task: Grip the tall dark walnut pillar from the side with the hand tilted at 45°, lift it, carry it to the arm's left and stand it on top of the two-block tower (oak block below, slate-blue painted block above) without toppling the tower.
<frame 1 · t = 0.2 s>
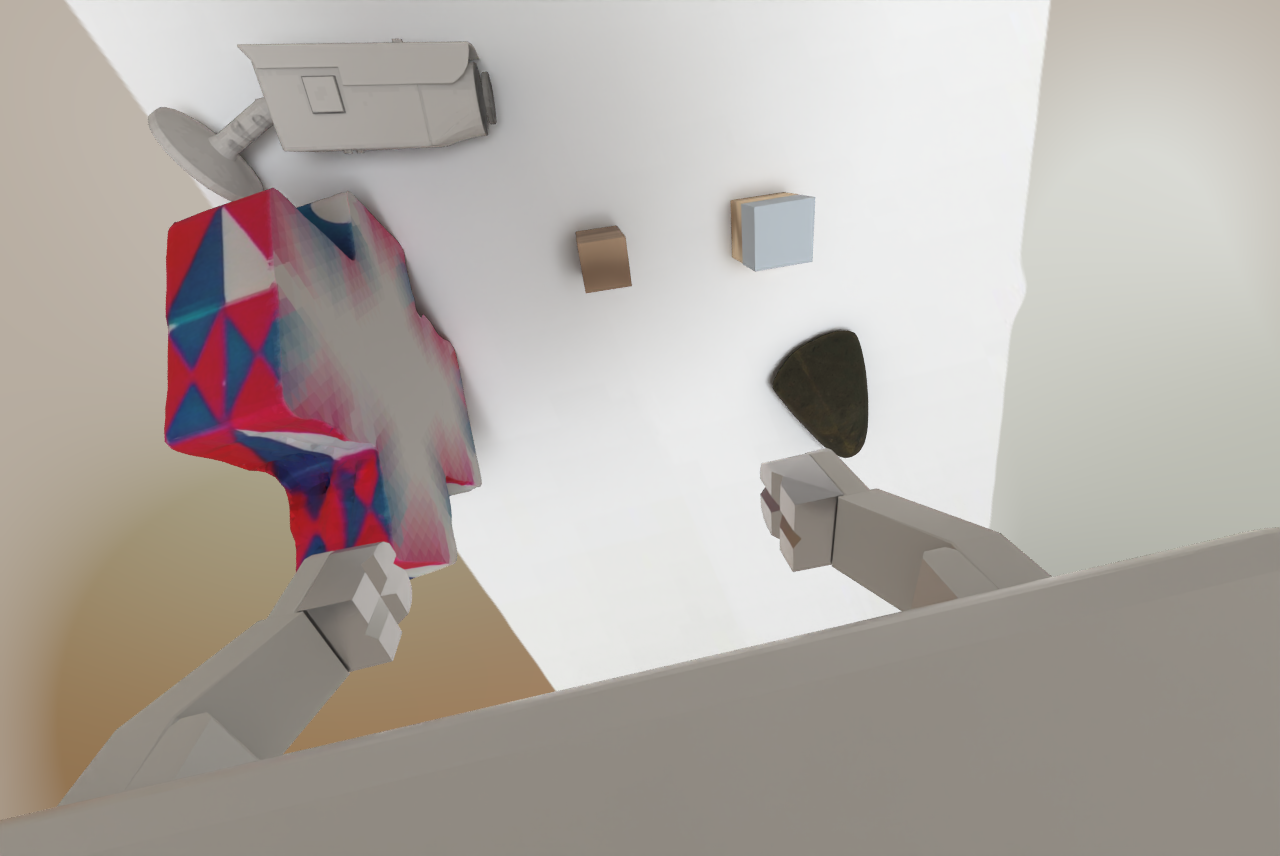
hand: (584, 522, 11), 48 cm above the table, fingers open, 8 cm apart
oak block: (756, 225, 54), on the table, touching slate block
stone tool: (820, 393, 66), on the table
sculpture: (408, 330, 55), on the table
slate block: (769, 230, 51), point 4 cm above the table, touching oak block
security camera: (362, 117, 45), on the table
walnut pillar: (599, 250, 53), on the table
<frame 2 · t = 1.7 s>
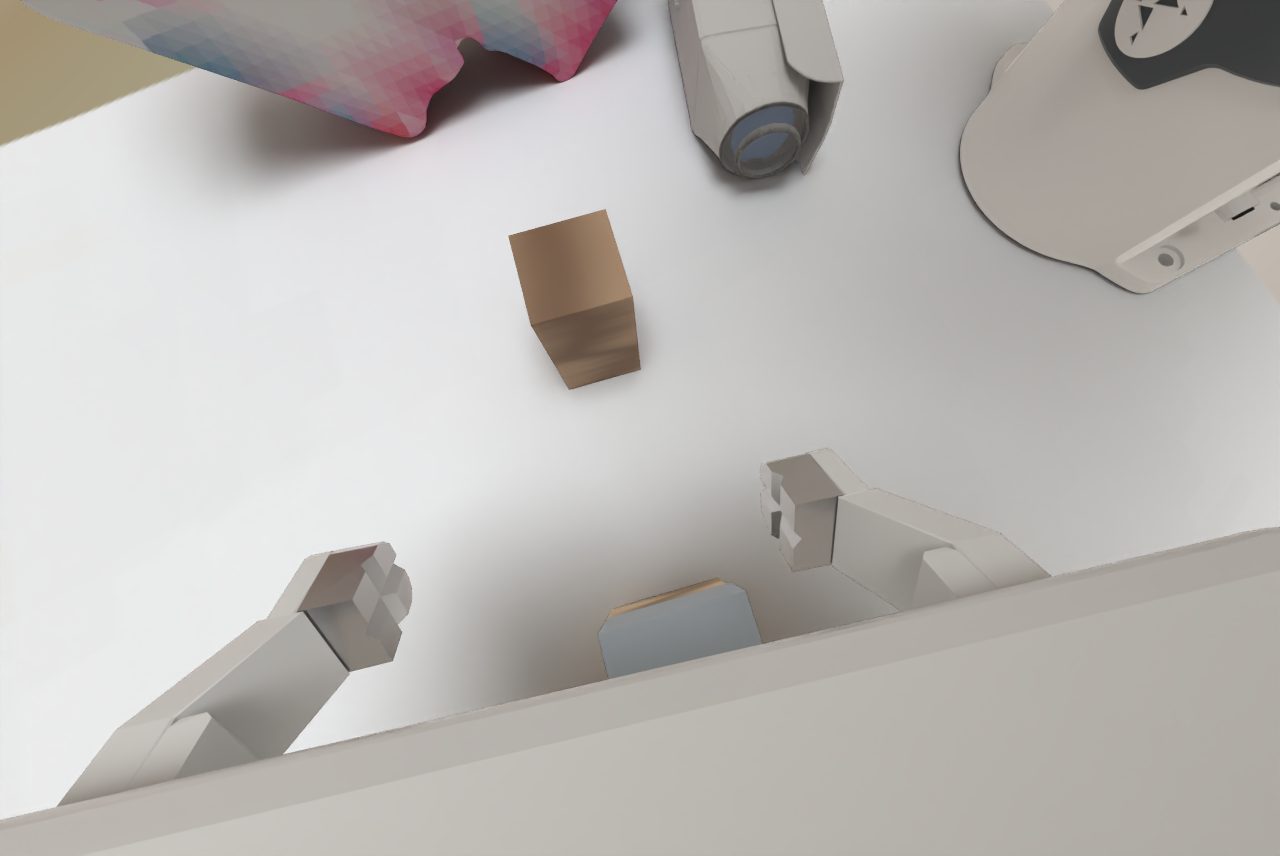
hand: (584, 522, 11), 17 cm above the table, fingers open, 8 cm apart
oak block: (681, 649, 26), on the table, touching slate block
sculpture: (443, 86, 35), on the table
slate block: (688, 667, 22), point 4 cm above the table, touching oak block
security camera: (712, 54, 35), on the table
walnut pillar: (595, 346, 30), on the table
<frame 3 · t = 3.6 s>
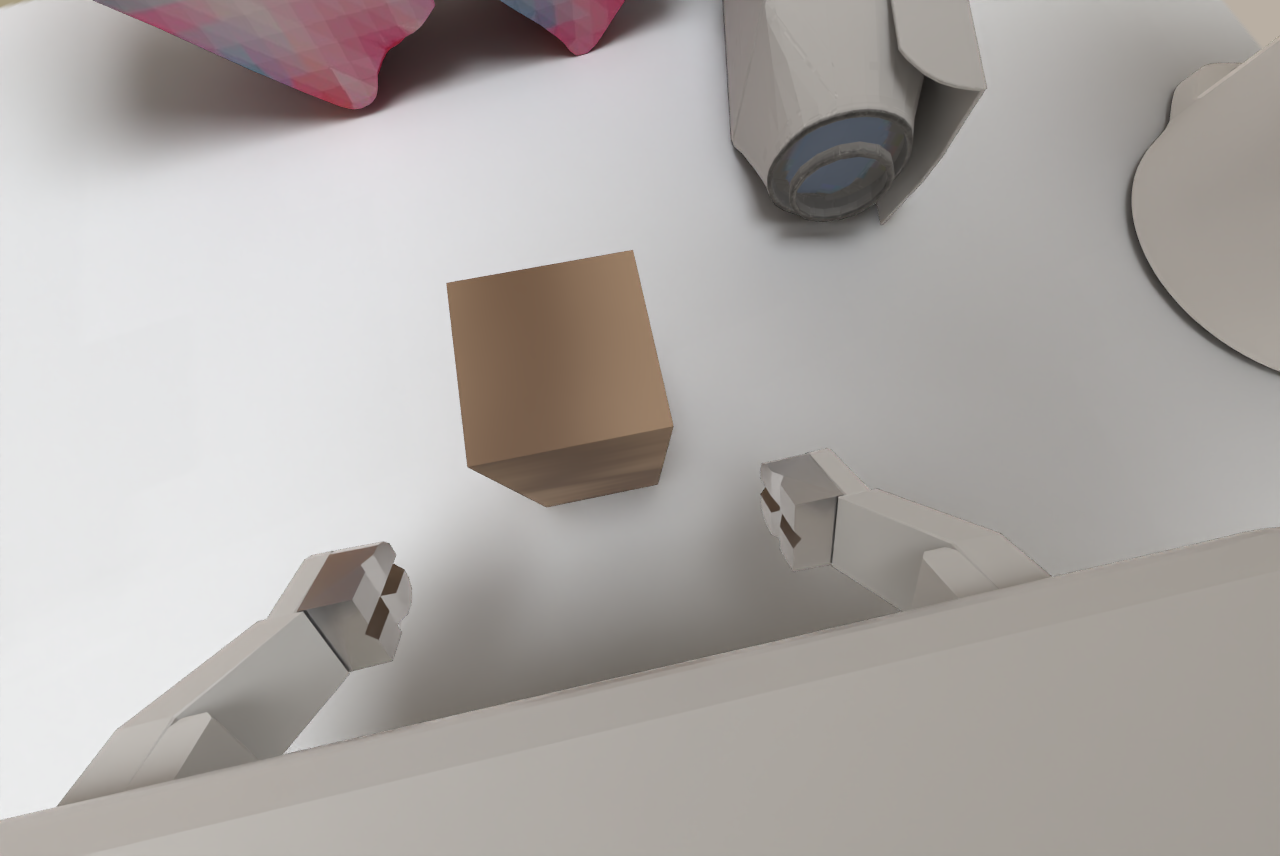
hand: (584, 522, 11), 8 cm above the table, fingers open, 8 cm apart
sculpture: (412, 47, 25), on the table
security camera: (772, 45, 26), on the table
walnut pillar: (592, 441, 20), on the table
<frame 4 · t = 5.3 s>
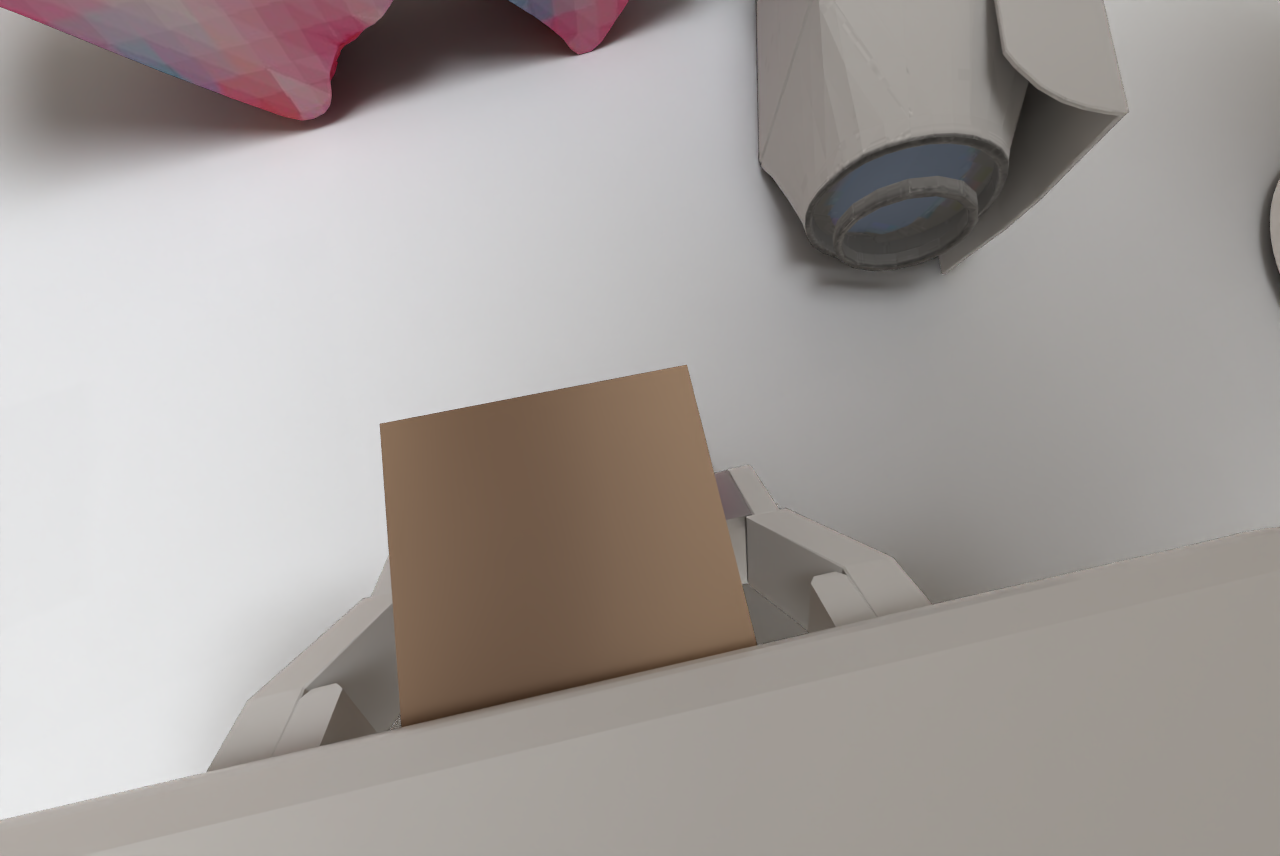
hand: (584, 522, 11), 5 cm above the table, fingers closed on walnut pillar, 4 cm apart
sculpture: (379, 43, 21), on the table
security camera: (812, 46, 21), on the table
walnut pillar: (604, 553, 15), on the table, touching gripper
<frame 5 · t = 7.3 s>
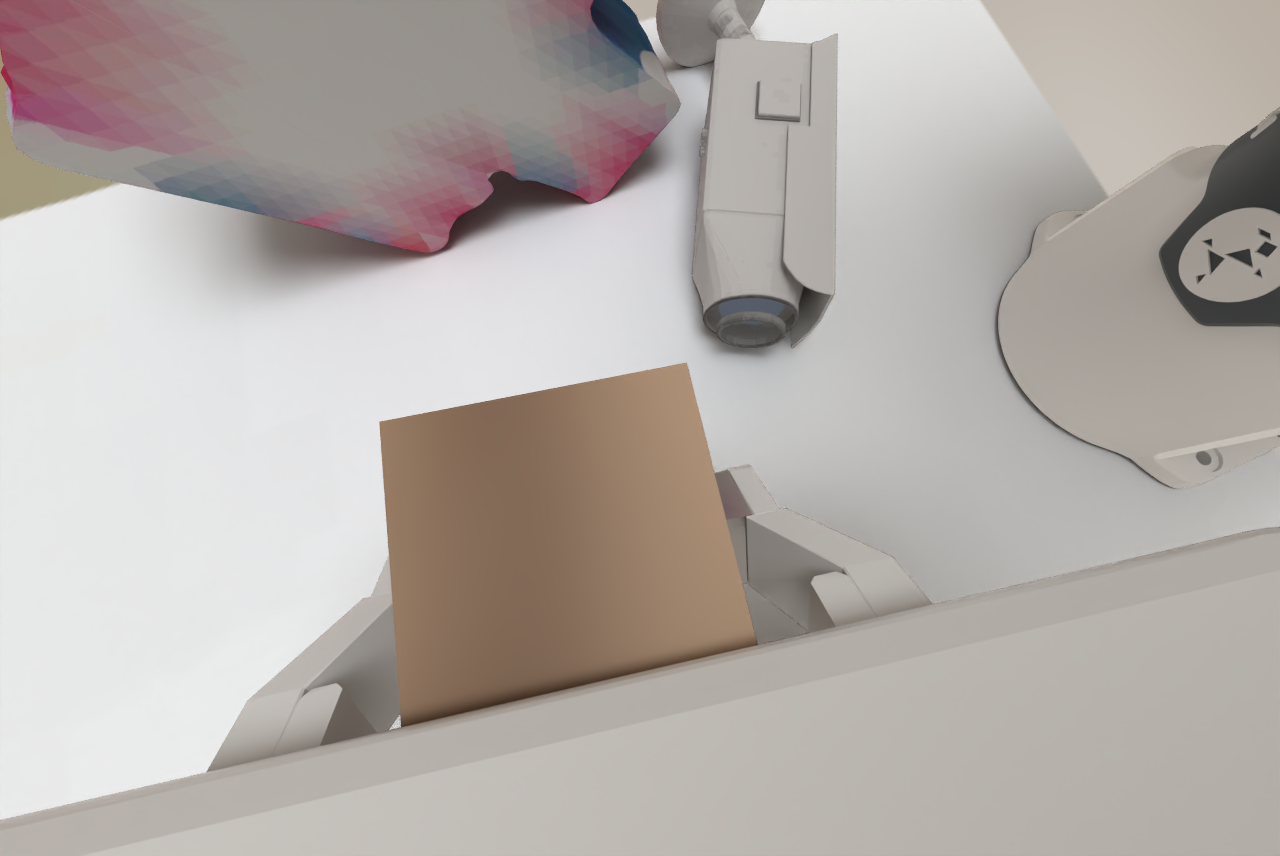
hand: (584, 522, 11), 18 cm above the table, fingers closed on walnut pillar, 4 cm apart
sculpture: (468, 196, 34), on the table
security camera: (735, 196, 34), on the table
walnut pillar: (604, 552, 15), point 13 cm above the table, touching gripper
when the fingers open (14 cm above the table, at t = 9.4 s): walnut pillar drops 2 cm, resting on slate block.
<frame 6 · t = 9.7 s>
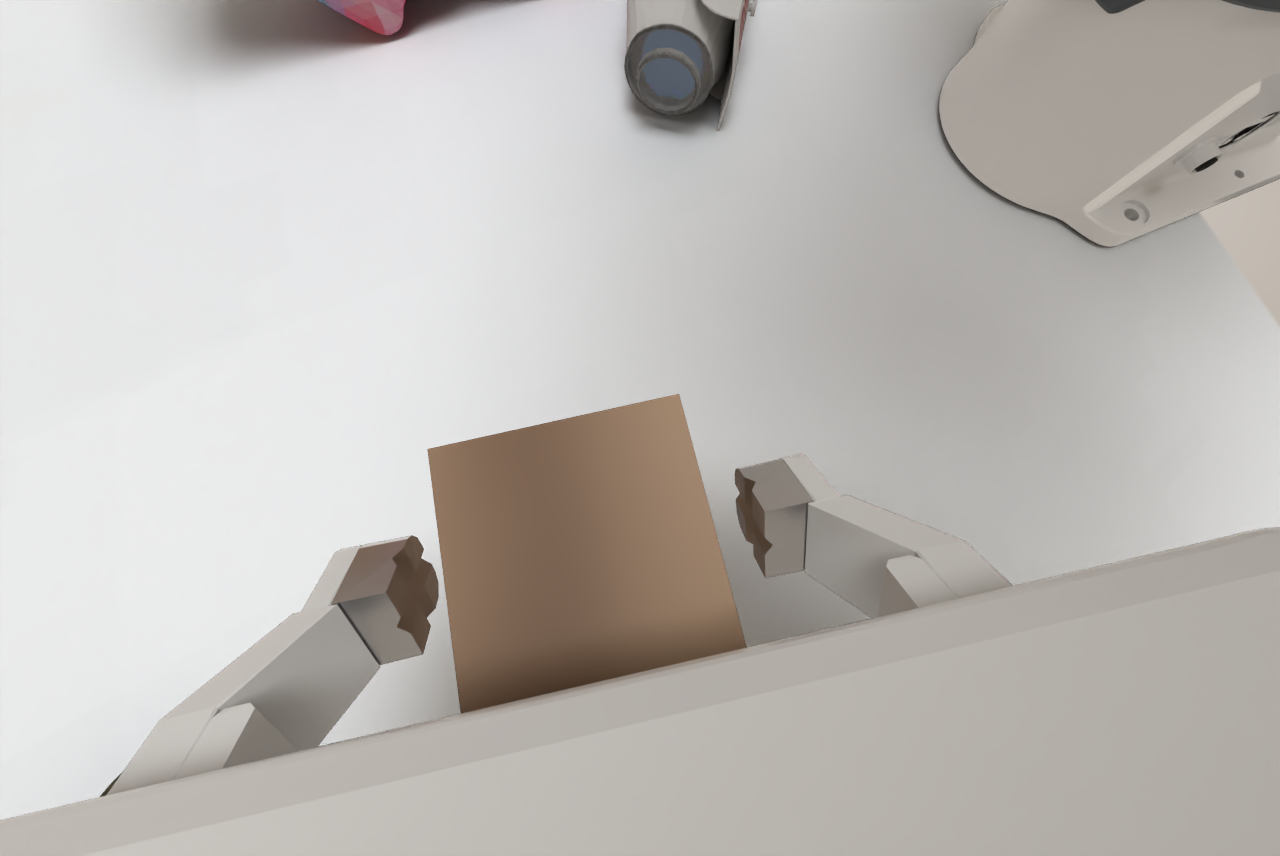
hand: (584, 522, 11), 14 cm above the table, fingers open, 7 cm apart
security camera: (685, 1, 35), on the table
walnut pillar: (608, 550, 17), point 8 cm above the table, touching slate block
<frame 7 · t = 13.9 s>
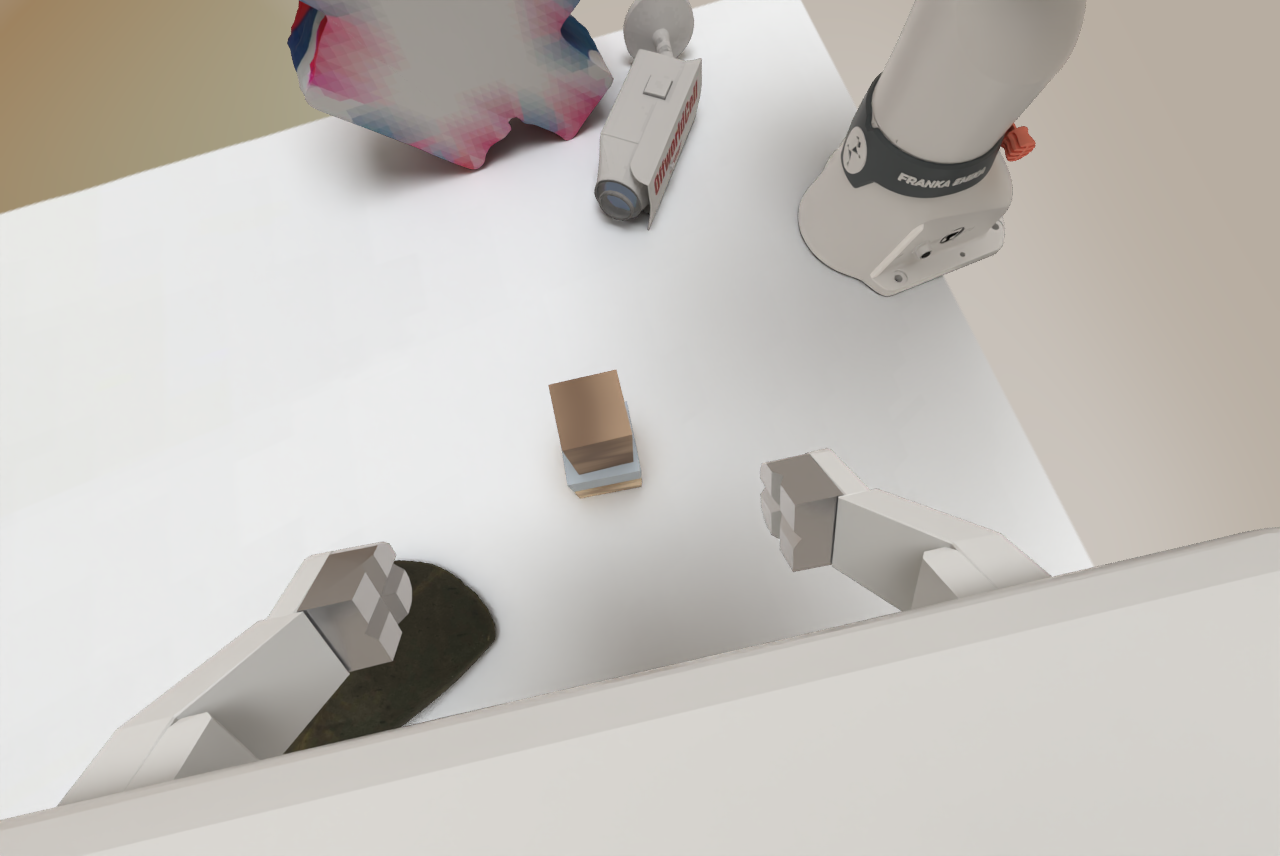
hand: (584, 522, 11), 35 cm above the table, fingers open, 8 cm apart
oak block: (605, 462, 47), on the table, touching slate block
stone tool: (397, 663, 42), on the table
sculpture: (493, 139, 57), on the table
slate block: (601, 452, 43), point 4 cm above the table, touching oak block, walnut pillar
security camera: (647, 144, 57), on the table
walnut pillar: (600, 442, 39), point 8 cm above the table, touching slate block
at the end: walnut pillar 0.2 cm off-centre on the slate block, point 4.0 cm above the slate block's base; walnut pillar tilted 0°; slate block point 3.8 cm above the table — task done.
